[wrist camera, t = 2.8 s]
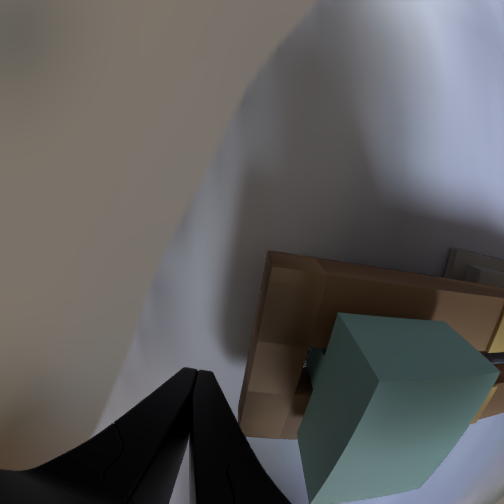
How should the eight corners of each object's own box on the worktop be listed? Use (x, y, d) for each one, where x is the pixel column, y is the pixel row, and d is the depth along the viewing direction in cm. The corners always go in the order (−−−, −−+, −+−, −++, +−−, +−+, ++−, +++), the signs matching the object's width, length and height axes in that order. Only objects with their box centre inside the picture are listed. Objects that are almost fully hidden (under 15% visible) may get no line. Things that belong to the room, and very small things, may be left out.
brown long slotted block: (520, 385, 15) (562, 429, 9) (235, 400, 14) (232, 511, 7) (564, 277, 13) (622, 307, 7) (270, 211, 11) (297, 257, 5)
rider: (376, 400, 12) (420, 488, 7) (290, 399, 11) (309, 505, 6) (417, 298, 10) (500, 371, 5) (322, 287, 10) (379, 380, 5)
